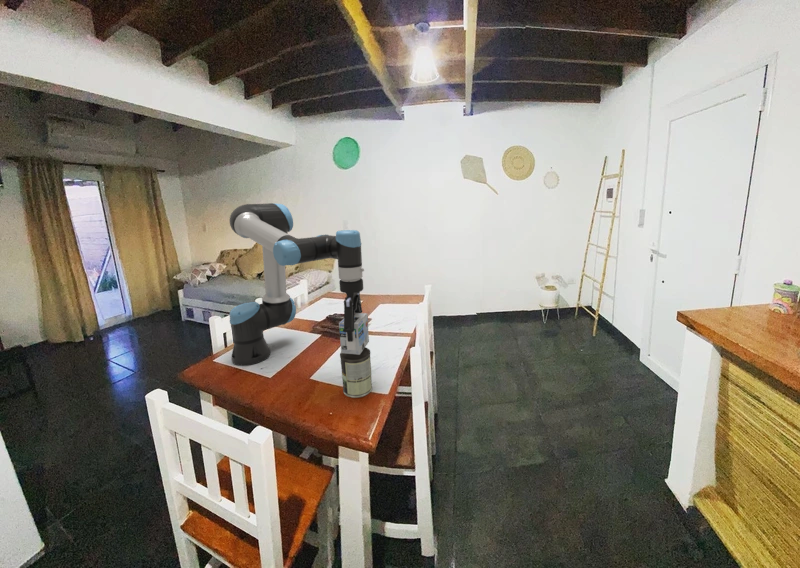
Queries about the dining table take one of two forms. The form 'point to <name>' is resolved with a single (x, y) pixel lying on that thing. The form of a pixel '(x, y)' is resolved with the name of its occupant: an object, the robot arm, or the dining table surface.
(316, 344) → the dining table surface
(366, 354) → the coffee can
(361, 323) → the light bulb box
